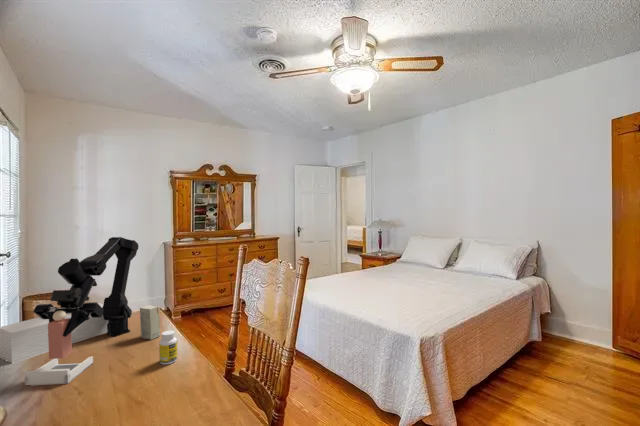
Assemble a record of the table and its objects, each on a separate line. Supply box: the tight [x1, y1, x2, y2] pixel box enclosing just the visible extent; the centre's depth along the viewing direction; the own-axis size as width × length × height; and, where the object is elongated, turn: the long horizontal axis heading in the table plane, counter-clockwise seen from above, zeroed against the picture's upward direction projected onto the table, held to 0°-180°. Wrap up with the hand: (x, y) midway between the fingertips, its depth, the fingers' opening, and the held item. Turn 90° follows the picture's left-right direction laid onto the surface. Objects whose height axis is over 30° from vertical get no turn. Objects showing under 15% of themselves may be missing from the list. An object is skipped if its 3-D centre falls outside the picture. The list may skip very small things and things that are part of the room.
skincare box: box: [139, 304, 161, 340], centre depth 129 cm, size 6×4×12 cm
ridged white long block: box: [0, 302, 108, 364], centre depth 124 cm, size 32×11×11 cm, turn 152°
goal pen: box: [23, 356, 94, 386], centre depth 101 cm, size 12×12×4 cm
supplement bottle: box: [158, 330, 178, 365], centre depth 109 cm, size 5×5×10 cm
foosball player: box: [48, 311, 73, 360], centre depth 101 cm, size 4×4×14 cm
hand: (56, 336), depth 99 cm, fingers closed on foosball player, 4 cm apart
